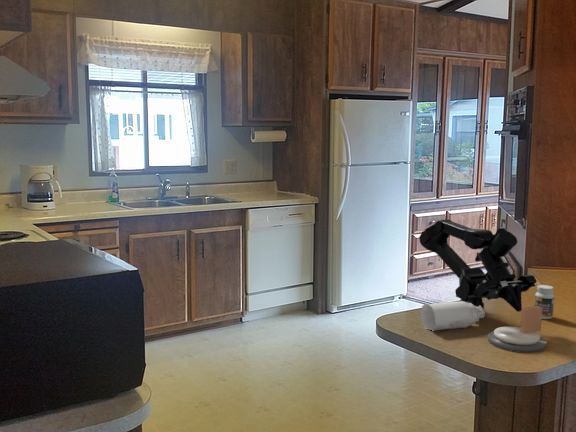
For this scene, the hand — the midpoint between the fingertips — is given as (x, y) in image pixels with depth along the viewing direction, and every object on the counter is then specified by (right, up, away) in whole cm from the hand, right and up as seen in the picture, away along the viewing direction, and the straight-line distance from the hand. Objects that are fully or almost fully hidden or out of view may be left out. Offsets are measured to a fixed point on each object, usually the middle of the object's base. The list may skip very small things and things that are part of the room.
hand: (519, 310), depth 176 cm
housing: (-3, -8, -4) cm, 10 cm away
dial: (-2, -7, -4) cm, 8 cm away
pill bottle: (+15, -5, +20) cm, 25 cm away
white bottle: (-17, -7, +9) cm, 21 cm away
